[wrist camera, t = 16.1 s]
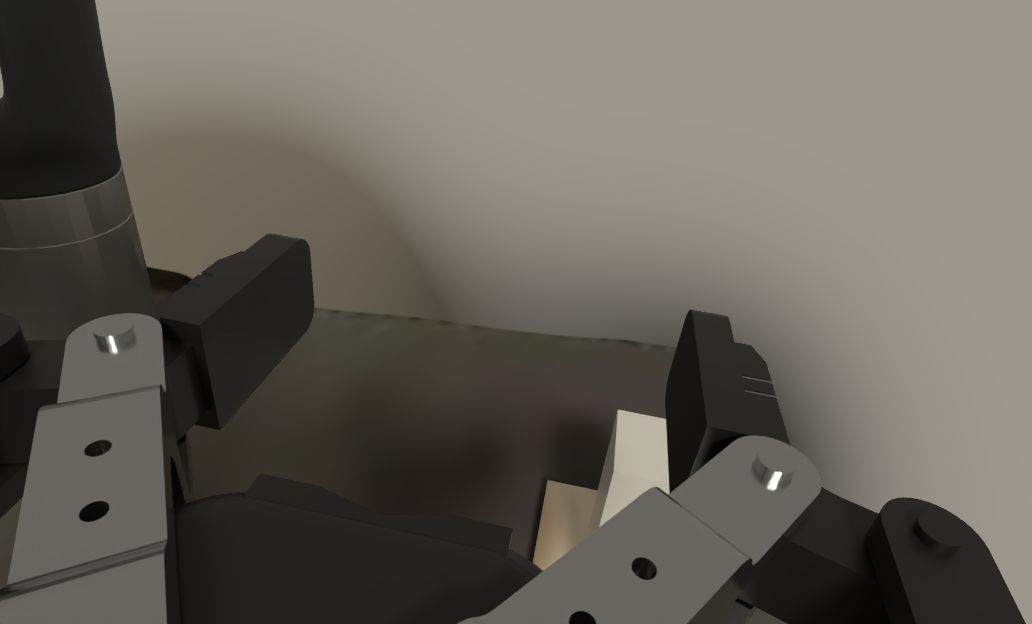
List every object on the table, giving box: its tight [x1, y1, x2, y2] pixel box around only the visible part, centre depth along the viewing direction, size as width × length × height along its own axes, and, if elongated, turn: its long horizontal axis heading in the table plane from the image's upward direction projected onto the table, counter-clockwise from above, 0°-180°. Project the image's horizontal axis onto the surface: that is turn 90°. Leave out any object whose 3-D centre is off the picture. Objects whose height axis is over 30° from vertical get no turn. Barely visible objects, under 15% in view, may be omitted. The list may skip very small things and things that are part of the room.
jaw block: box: [586, 410, 669, 537], centre depth 33 cm, size 4×4×11 cm
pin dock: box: [533, 480, 597, 571], centre depth 35 cm, size 10×14×4 cm
